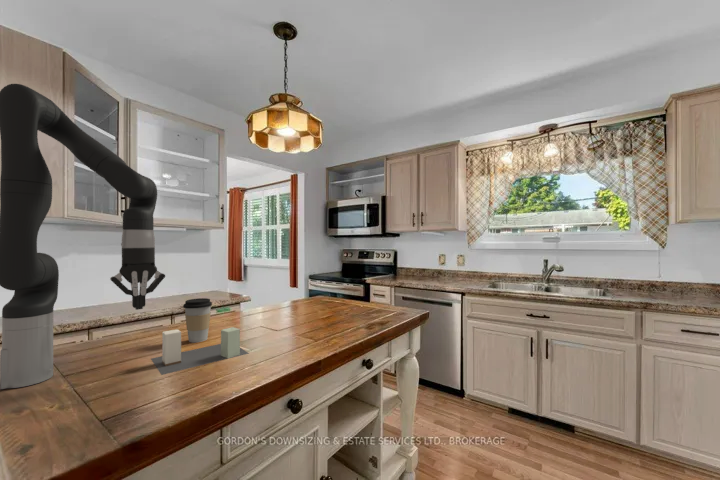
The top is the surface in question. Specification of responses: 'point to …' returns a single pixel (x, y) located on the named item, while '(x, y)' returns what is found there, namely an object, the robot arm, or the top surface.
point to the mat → (193, 359)
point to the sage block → (230, 342)
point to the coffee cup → (197, 318)
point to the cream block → (171, 347)
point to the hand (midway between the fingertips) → (139, 308)
